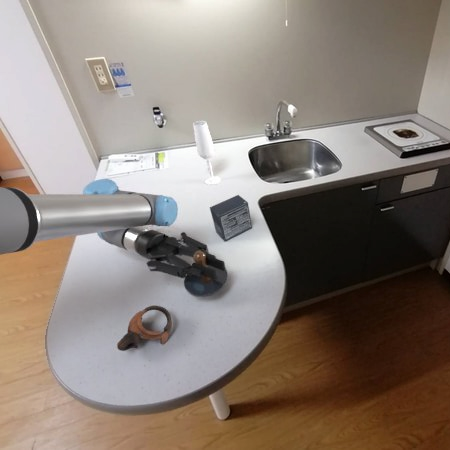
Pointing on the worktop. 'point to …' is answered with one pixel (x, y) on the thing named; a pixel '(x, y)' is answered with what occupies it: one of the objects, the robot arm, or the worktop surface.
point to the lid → (204, 279)
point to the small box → (231, 217)
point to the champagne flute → (205, 148)
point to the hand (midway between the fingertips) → (219, 270)
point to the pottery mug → (144, 330)
